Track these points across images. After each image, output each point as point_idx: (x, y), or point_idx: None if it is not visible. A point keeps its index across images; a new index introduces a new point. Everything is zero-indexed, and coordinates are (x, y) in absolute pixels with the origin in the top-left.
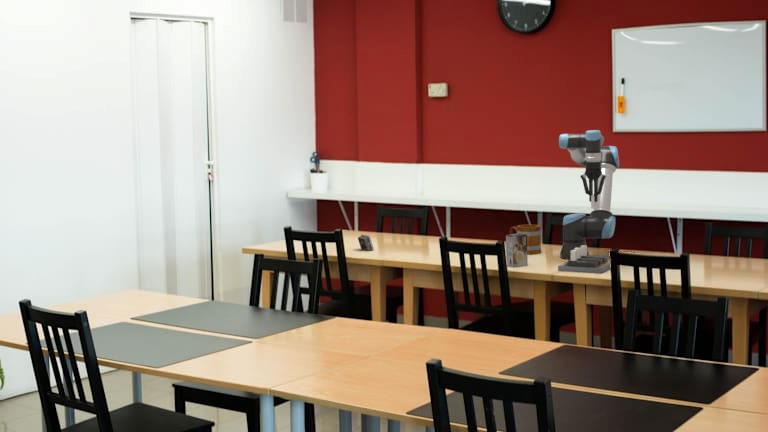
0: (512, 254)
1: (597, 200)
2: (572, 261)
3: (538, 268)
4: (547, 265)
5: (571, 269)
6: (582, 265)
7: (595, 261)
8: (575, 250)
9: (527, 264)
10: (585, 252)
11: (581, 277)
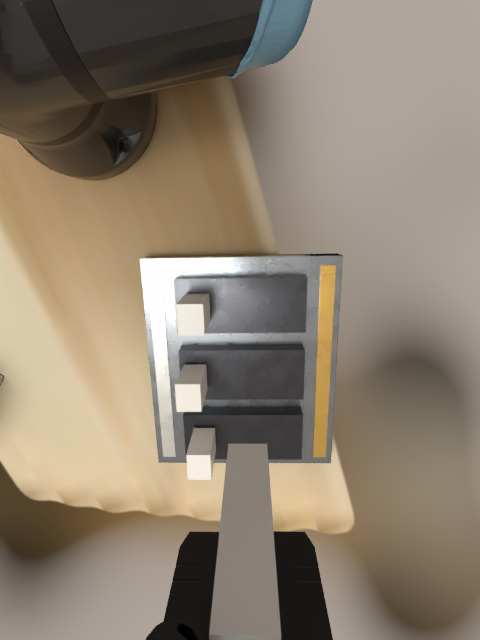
0: None
1: (314, 551)
2: None
3: (75, 424)
4: (74, 355)
5: None
6: None
7: (291, 421)
8: (205, 465)
9: (1, 378)
10: (208, 320)
11: (279, 528)
